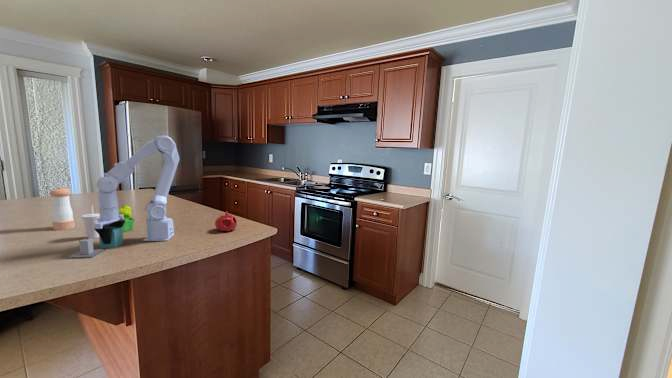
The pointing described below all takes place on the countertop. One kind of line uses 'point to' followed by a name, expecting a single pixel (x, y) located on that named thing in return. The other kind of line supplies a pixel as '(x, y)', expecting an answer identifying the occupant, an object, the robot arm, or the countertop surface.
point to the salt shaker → (62, 209)
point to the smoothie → (91, 223)
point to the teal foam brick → (113, 238)
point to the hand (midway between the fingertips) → (111, 241)
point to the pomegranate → (226, 222)
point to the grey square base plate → (87, 249)
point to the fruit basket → (127, 218)
